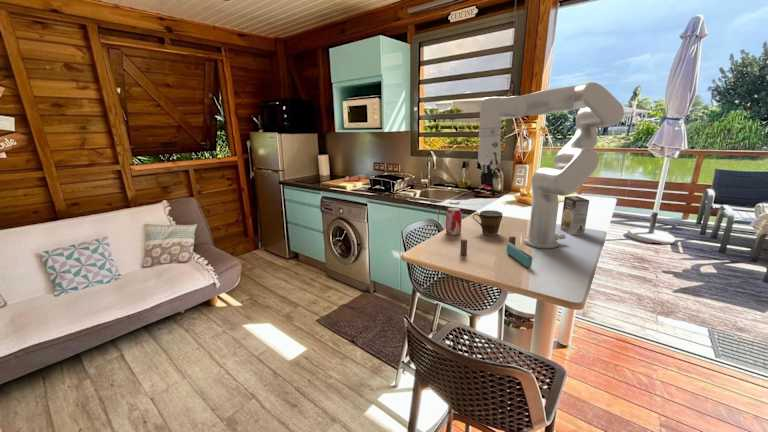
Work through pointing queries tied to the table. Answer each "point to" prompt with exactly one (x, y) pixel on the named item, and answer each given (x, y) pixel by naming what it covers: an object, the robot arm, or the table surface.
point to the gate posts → (464, 245)
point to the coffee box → (574, 215)
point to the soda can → (453, 221)
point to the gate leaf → (519, 255)
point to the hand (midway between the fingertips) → (486, 182)
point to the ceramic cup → (490, 221)
